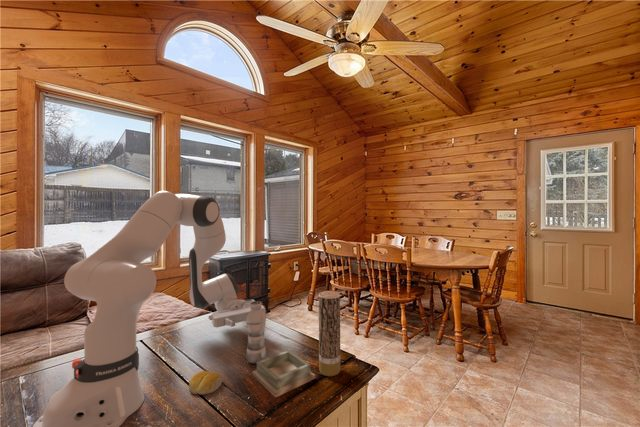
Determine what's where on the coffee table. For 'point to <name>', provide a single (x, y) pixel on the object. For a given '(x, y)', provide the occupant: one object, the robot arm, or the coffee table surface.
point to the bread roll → (205, 382)
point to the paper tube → (329, 333)
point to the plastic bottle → (256, 333)
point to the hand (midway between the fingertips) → (246, 321)
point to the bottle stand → (283, 373)
